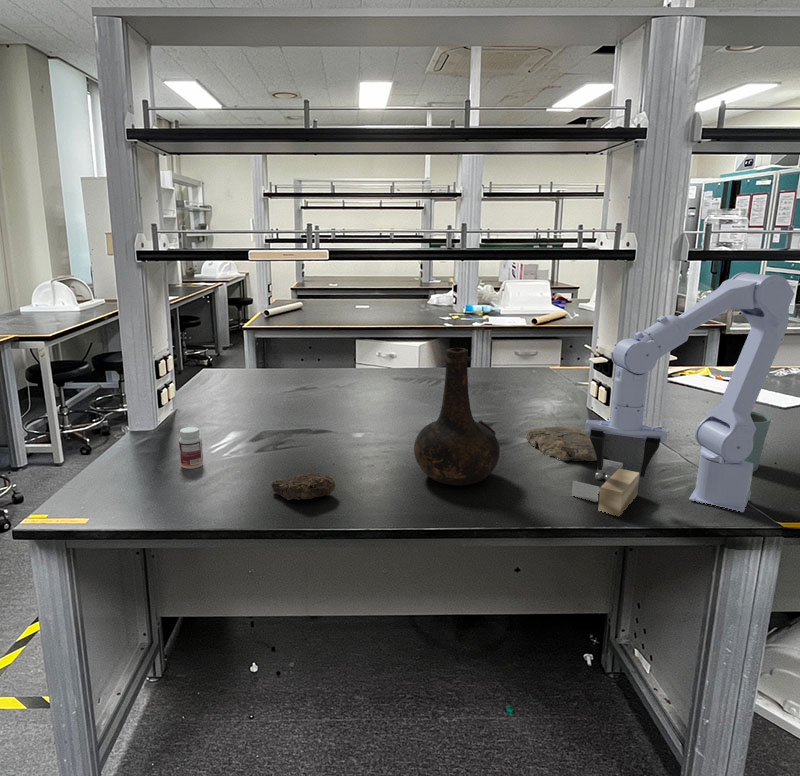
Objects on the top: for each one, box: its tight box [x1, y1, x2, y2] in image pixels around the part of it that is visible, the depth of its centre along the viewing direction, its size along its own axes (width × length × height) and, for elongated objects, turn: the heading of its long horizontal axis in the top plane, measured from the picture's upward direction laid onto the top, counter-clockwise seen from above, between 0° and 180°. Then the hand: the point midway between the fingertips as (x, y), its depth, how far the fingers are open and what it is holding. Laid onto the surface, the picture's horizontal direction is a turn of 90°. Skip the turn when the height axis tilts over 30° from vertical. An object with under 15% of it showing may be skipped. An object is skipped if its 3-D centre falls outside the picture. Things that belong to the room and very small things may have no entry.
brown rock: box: [270, 472, 336, 501], centre depth 120 cm, size 12×10×5 cm
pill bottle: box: [178, 426, 204, 470], centre depth 135 cm, size 5×5×8 cm
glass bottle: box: [413, 347, 501, 486], centre depth 127 cm, size 18×18×28 cm
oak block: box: [597, 468, 641, 517], centre depth 118 cm, size 4×12×5 cm, turn 145°
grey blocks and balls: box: [570, 458, 624, 503], centre depth 126 cm, size 5×17×3 cm, turn 144°
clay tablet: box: [525, 425, 597, 462], centre depth 147 cm, size 14×5×20 cm
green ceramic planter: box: [727, 410, 772, 472], centre depth 137 cm, size 10×10×12 cm
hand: (621, 471), depth 117 cm, fingers open, 7 cm apart
